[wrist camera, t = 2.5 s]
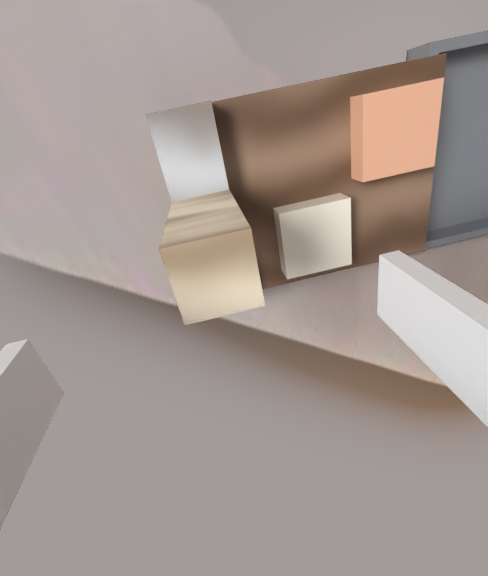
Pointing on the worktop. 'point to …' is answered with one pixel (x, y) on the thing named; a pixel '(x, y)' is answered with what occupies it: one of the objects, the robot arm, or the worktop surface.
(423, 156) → the terracotta tile
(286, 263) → the cream tile
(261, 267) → the board
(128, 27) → the worktop surface
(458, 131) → the tray
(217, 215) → the two-tone beige block
